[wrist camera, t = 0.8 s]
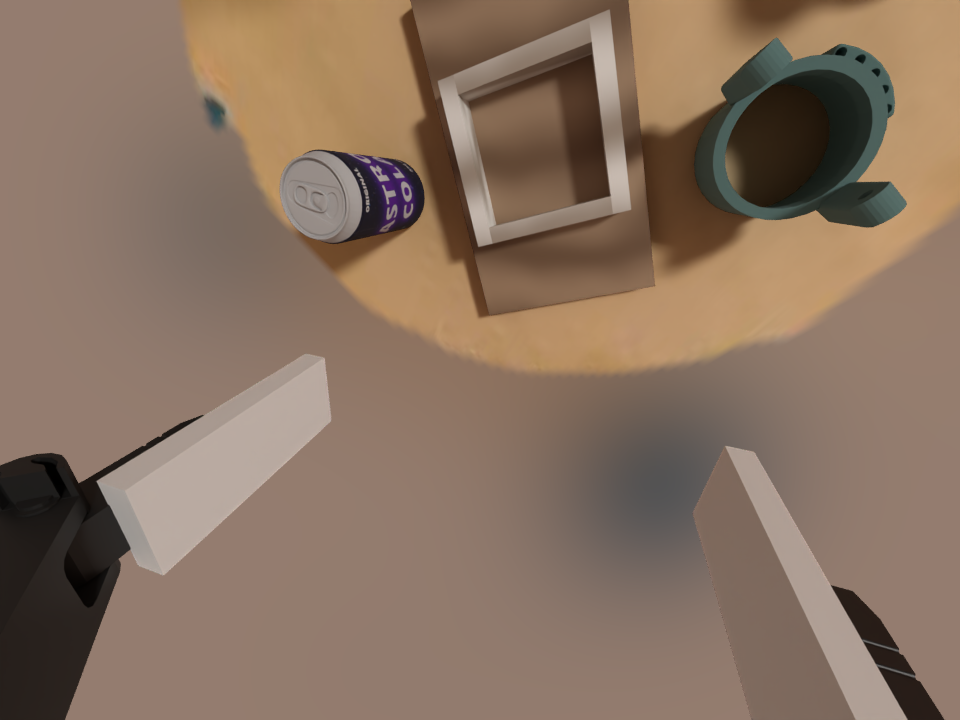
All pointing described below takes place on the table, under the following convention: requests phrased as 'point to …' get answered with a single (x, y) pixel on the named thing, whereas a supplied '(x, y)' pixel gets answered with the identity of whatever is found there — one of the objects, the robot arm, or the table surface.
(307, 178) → the beverage can
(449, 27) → the can holder
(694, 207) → the table surface
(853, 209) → the teal cauldron pot
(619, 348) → the table surface
